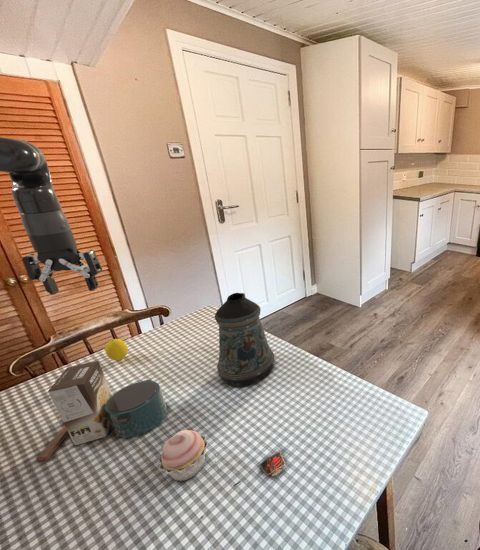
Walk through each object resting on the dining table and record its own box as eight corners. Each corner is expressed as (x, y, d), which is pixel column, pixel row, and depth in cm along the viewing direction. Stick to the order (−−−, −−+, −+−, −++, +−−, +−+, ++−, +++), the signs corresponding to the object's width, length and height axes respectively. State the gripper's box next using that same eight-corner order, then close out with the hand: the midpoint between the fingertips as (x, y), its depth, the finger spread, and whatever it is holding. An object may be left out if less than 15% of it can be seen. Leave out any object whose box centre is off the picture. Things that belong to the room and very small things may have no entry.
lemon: (105, 364, 98) (97, 343, 95) (121, 353, 103) (113, 333, 100) (120, 366, 97) (112, 345, 94) (135, 355, 102) (127, 335, 99)
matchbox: (258, 466, 65) (258, 465, 65) (278, 449, 69) (278, 448, 69) (271, 480, 63) (271, 478, 62) (291, 461, 66) (291, 460, 66)
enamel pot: (102, 447, 70) (90, 422, 67) (130, 403, 82) (121, 380, 80) (155, 437, 72) (146, 413, 69) (175, 395, 85) (168, 373, 82)
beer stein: (230, 397, 84) (212, 319, 75) (209, 363, 98) (192, 293, 88) (284, 370, 94) (274, 298, 85) (259, 343, 108) (248, 279, 98)
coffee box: (107, 436, 73) (83, 384, 67) (74, 446, 70) (46, 392, 64) (119, 409, 80) (99, 359, 74) (89, 417, 78) (65, 366, 72)
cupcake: (159, 497, 60) (145, 462, 56) (167, 457, 68) (155, 424, 64) (211, 478, 63) (201, 444, 59) (213, 442, 71) (204, 410, 67)
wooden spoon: (30, 463, 67) (27, 459, 66) (74, 410, 80) (72, 406, 80) (56, 458, 68) (54, 454, 67) (95, 406, 81) (94, 403, 81)
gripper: (93, 225, 77) (113, 283, 83) (25, 228, 74) (51, 288, 80) (74, 231, 70) (98, 294, 76) (-1, 236, 67) (30, 301, 73)
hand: (74, 291), depth 78 cm, fingers open, 8 cm apart
